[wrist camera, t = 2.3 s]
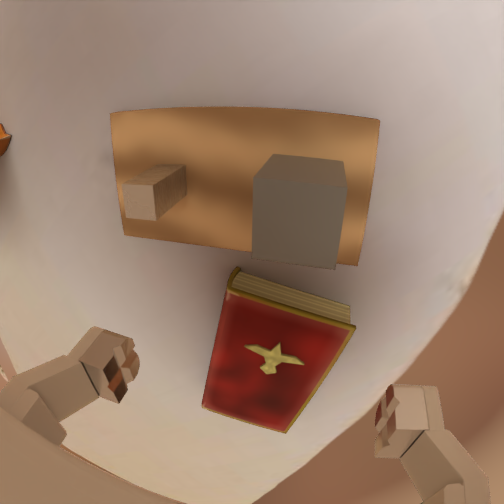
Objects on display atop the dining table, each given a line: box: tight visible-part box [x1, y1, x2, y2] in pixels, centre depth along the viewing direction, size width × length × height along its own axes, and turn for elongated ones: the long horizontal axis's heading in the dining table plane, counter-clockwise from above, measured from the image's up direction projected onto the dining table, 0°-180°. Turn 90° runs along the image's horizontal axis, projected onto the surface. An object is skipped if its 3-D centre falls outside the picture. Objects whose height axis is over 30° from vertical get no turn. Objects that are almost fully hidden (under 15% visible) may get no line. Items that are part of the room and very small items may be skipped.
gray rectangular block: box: [252, 154, 348, 270], centre depth 21 cm, size 5×5×7 cm
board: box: [110, 107, 380, 266], centre depth 26 cm, size 12×22×1 cm, turn 89°
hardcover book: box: [202, 267, 356, 434], centre depth 34 cm, size 12×21×4 cm, turn 167°
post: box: [122, 164, 187, 221], centre depth 24 cm, size 3×3×6 cm
